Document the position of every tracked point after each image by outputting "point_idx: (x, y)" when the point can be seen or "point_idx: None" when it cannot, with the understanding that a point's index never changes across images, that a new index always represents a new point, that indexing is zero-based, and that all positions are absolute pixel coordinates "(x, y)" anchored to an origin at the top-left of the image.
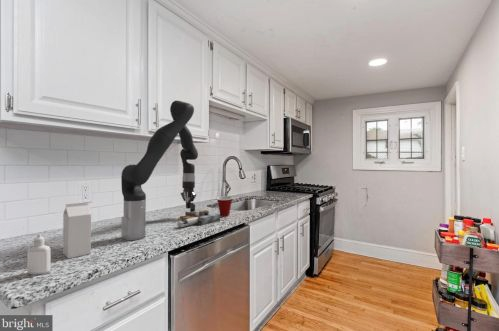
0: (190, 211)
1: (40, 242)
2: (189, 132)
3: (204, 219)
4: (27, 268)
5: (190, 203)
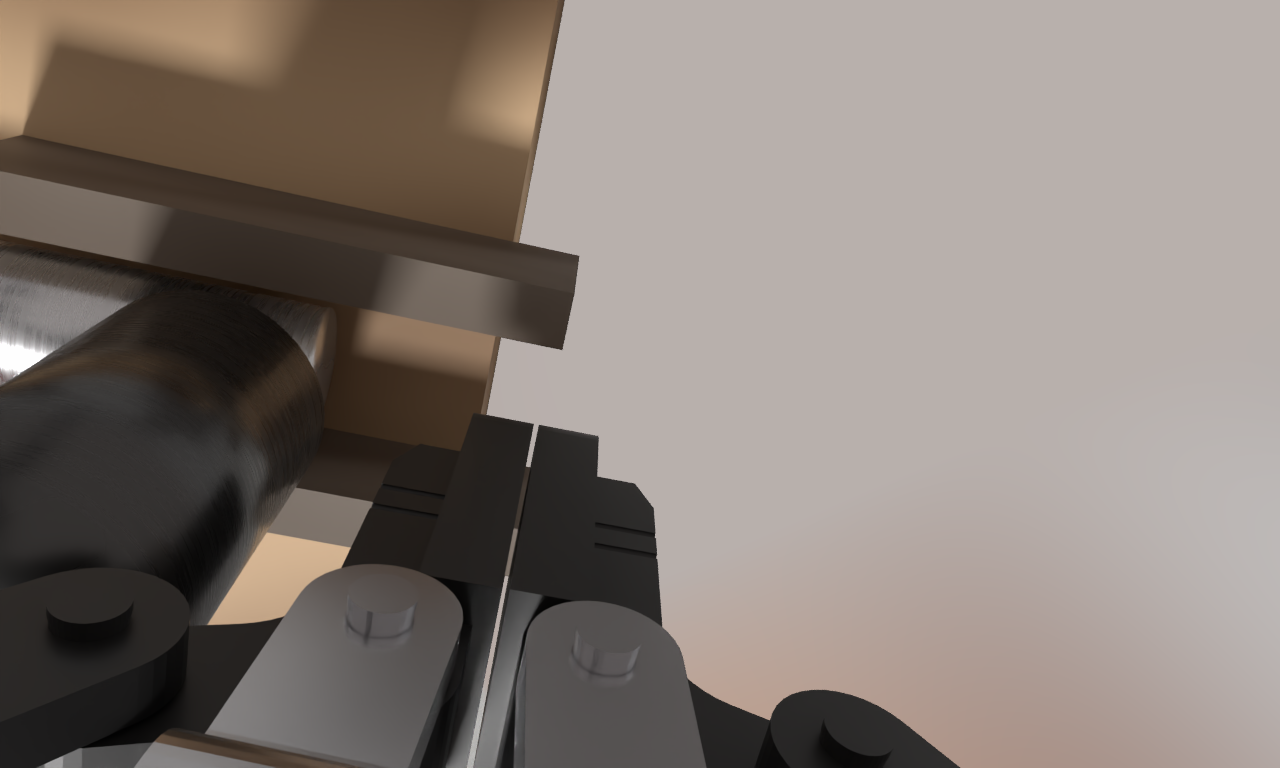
0: None
1: None
2: None
3: None
4: None
5: (31, 473)
